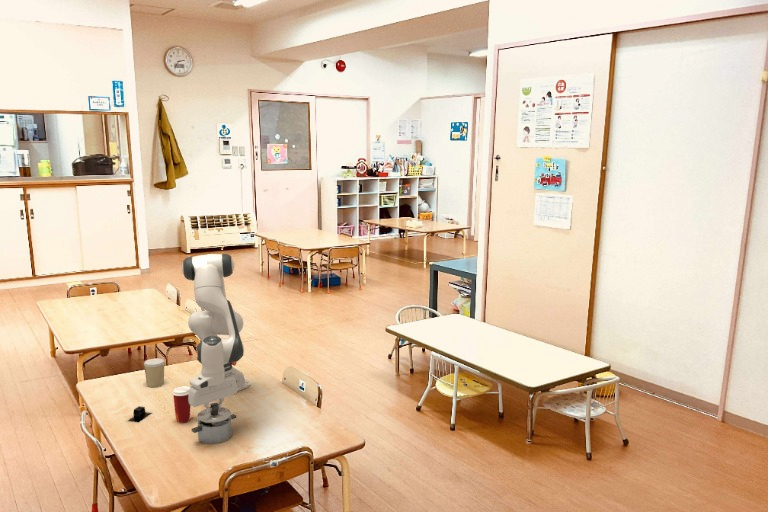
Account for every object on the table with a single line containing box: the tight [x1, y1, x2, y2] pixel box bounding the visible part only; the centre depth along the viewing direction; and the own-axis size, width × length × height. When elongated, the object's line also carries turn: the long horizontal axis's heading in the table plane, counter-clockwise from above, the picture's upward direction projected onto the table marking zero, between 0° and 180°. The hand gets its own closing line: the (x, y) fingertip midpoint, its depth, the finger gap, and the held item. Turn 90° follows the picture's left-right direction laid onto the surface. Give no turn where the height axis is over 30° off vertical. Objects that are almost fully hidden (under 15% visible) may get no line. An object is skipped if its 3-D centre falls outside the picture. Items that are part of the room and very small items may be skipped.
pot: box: [191, 413, 238, 445], centre depth 238 cm, size 19×13×7 cm
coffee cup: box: [143, 357, 166, 389], centre depth 288 cm, size 9×9×12 cm
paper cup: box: [171, 385, 191, 424], centre depth 251 cm, size 8×8×14 cm
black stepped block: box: [127, 405, 153, 423], centre depth 254 cm, size 12×7×5 cm, turn 167°
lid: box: [197, 402, 232, 423], centre depth 237 cm, size 13×13×5 cm
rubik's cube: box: [211, 421, 227, 426], centre depth 240 cm, size 5×5×5 cm
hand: (214, 410), depth 237 cm, fingers closed on lid, 3 cm apart
